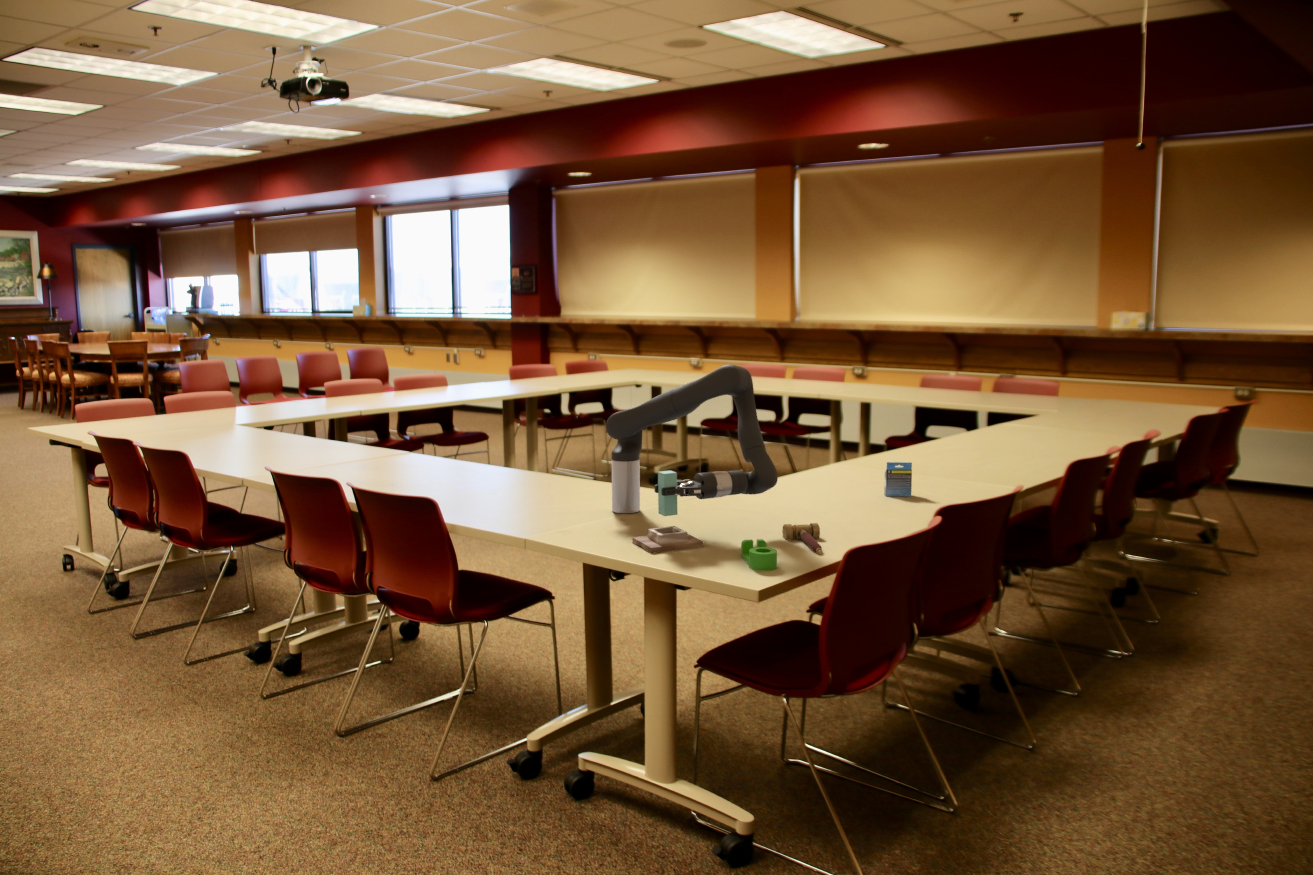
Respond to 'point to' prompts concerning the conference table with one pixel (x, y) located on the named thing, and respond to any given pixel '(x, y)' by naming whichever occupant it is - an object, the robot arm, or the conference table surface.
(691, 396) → the robot arm
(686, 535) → the walnut socket plate
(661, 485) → the teal post
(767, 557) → the green slotted bracket
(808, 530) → the gavel
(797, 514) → the conference table surface
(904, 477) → the label tape cartridge
